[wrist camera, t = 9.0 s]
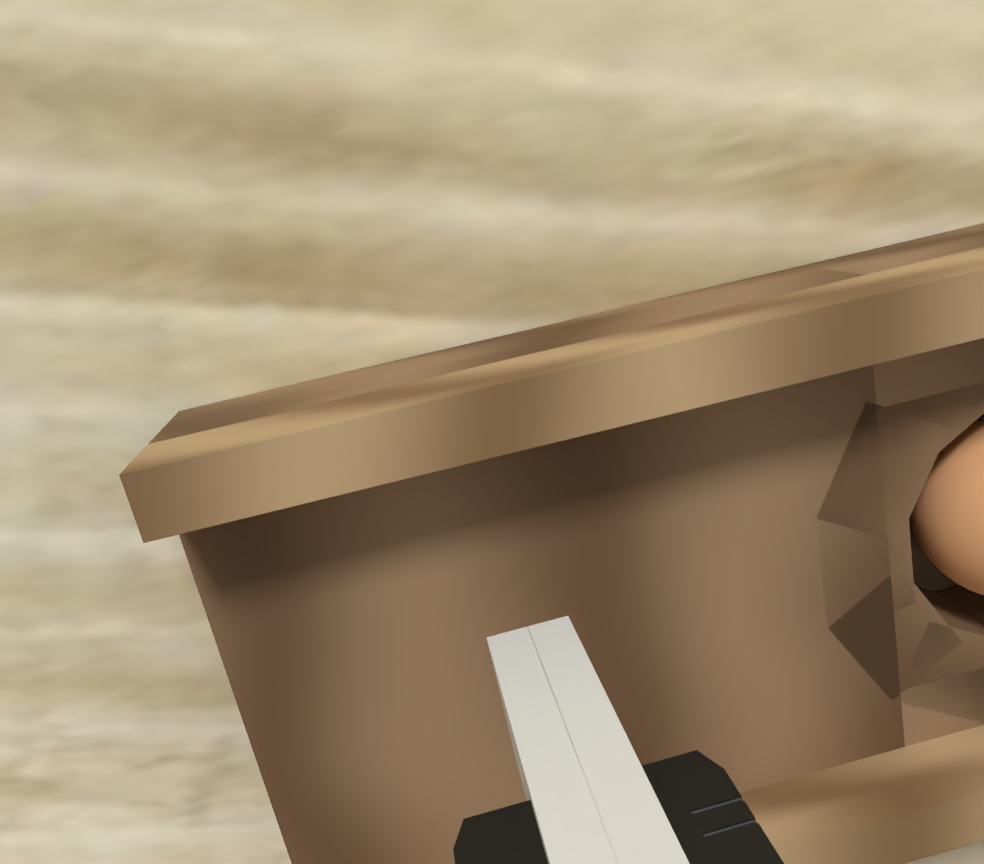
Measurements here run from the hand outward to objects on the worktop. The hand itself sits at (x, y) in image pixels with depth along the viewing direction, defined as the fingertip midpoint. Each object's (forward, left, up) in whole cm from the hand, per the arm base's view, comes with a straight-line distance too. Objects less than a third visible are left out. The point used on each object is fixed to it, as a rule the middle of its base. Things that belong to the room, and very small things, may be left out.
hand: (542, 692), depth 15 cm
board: (+6, 0, -5) cm, 8 cm away
